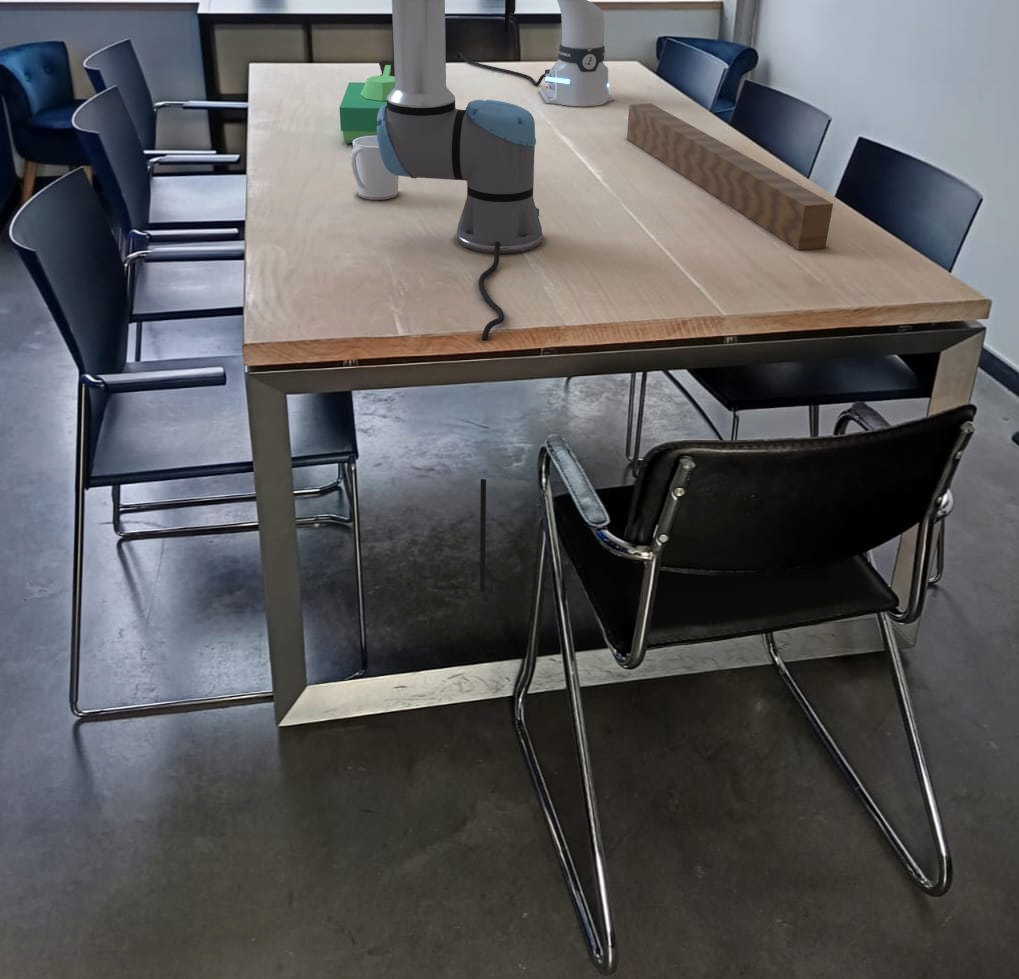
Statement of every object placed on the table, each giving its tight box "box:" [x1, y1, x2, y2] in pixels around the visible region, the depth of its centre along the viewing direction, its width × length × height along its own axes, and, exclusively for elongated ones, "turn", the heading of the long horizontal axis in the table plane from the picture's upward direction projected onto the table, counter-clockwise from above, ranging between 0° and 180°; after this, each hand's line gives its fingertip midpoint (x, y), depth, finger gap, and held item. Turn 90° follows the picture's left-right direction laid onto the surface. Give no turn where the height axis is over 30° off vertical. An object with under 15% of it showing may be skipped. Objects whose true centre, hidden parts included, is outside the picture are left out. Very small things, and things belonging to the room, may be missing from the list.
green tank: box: [339, 65, 395, 144], centre depth 261 cm, size 18×12×35 cm
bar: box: [626, 102, 834, 251], centre depth 226 cm, size 81×6×8 cm, turn 17°
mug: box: [350, 136, 399, 201], centre depth 214 cm, size 11×9×10 cm
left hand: (474, 30), depth 224 cm, fingers open, 13 cm apart
